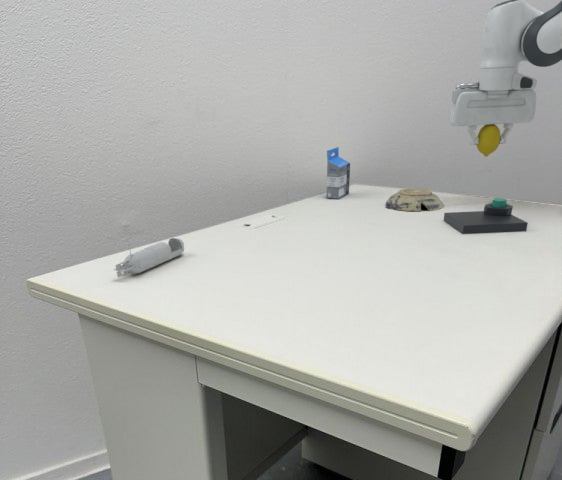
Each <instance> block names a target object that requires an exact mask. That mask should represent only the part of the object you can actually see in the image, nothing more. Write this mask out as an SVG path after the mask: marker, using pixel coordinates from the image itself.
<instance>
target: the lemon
mask: <svg viewBox="0 0 562 480" xmlns="http://www.w3.org/2000/svg"><path fill="white" fill-rule="evenodd" d="M500 135H501V131H500V127H498V125H497V124H490V125H482V127H481V128H480V129H479V131H478V133H477V137H480V138H479V144H478V145H476V148H477V150H478V152H479V153H481V154H482V155H483V156H484V157H489V156H490V155H491V154H492V153H494V152H495V151H496V150H497V149H498V148H499V146H500V144H499V143H500Z"/></svg>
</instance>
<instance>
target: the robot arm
mask: <svg viewBox="0 0 562 480" xmlns="http://www.w3.org/2000/svg"><path fill="white" fill-rule="evenodd" d="M485 18H486V19H485V23H484V27H483V31H482V32H483V33H482V39H481V46H480V47H481V60H480V63H479V65H478V72H477V79H476V82H470V83H460V84H459V85H457V86H456V87H455V88H454V89H453V91H452V98H451V100H452V104H451V109H450V114H449V123H450V125H451V126H453V127H467V132H468V134H469V136H470V145H471V146H477V145H478V144H479V138H480V137H478V136H477V135H476V132H475V131H476V130H477V128H478V127H477V126H485V125H490V124H494V125H503V128H504V129H503V132H502V133H501V134H500V143H499V145H502V144H503V145H505V144H506V143H507V137H508V135H509V134H510V132H511V131H512V130H513V127H514V124H525V123H526V124H528V123H531V122H532V121H533V119H534V118H535V114H536V109H537V93H536V91H535V90H534V89H535V88H536V87H537V82H538V80H537V79H536V78H534V77H531V76H529V75H525V74H522V73H519V72H518V71H519V66H520V63H521V62H528V63H530V64H532V65H533V66H536V67H539V68H546V67H551V66H553V65H556V64H558V63H559V62H561V61H562V0H561V1H559V2H558V3H557V4H556V5H555V6H554V7H552V8H551V9H549V10H547V11H546V12H544V11H542V10H540V9H538V8H536V7H534V6H532V5H531V4H530V3H528V2H527V1H526V0H506V1H502V2H500V3H497V4H496V5H494V6H493V7H491V9H490V10H489V11H488V12H487V15H486V17H485Z"/></svg>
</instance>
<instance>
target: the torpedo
mask: <svg viewBox="0 0 562 480" xmlns="http://www.w3.org/2000/svg"><path fill="white" fill-rule="evenodd" d="M126 239H127V241H128V242H127V244H128V250H129V254H128V255H127V256H125V258H124V260H123V261H120V262H119V263H117V264H115V268H114V269H113V271H116V276H117V278H121V277H124V276H126V275H128V274H130V275H138V274H140V273H143V272H145V271H148V270H150V269H152V268H154V267H156V266H158V265H162V264H163V263H166V262H167V261H170V260H172V259H174V258H177V257H180V256H181V255H183V253H184V252H185V244H184V243H185V242H184V241H183V240H182V239H181V238H179V237H171V238H169V240H168V242H162V241H161V242H158V243H155V244H152V245H150V246H148V247H145V248H143V249H140V250H138V251H135V252H133V253H132V252H131V246H130V245H131V244H130V238H128V237H127V238H126Z"/></svg>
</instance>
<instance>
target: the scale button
mask: <svg viewBox="0 0 562 480" xmlns="http://www.w3.org/2000/svg"><path fill="white" fill-rule="evenodd" d="M507 202H508V200H507V199H506V198H500V197H497V198H492V202H491V203H492V207H497V208H505V207H506V204H507Z"/></svg>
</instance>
